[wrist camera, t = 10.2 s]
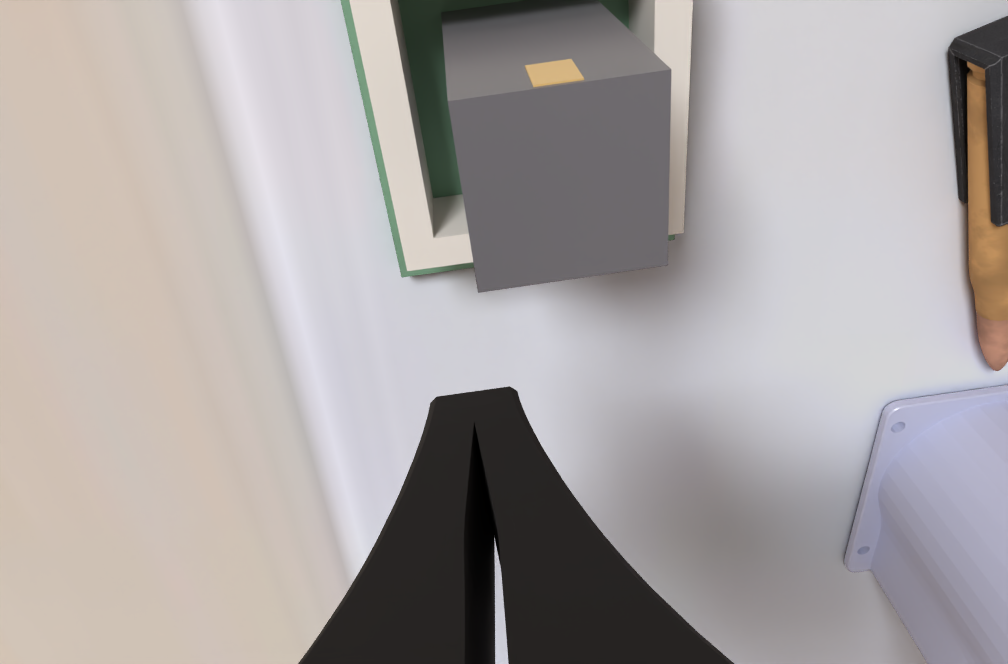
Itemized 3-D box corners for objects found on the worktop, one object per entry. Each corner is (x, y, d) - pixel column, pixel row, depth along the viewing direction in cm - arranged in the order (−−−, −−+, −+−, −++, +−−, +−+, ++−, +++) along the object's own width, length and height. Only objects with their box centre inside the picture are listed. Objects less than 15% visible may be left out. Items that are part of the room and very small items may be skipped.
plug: (594, 137, 19) (667, 266, 13) (462, 155, 19) (478, 294, 13) (588, -11, 17) (671, 66, 11) (440, 10, 17) (447, 99, 11)
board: (668, 230, 21) (700, 281, 19) (402, 267, 21) (398, 323, 19) (679, -180, 16) (726, -185, 13) (315, -133, 15) (293, -128, 13)
